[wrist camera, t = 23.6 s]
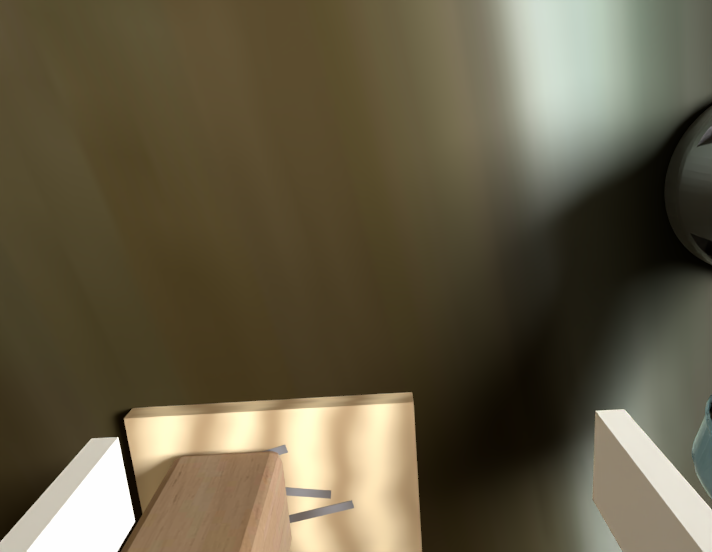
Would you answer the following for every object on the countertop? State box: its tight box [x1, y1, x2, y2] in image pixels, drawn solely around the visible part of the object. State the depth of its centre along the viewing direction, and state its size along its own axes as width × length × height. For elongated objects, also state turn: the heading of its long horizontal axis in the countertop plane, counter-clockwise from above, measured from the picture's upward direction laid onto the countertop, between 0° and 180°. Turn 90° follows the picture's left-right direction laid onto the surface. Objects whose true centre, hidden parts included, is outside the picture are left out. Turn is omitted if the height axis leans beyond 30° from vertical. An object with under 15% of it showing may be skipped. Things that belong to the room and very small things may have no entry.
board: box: [124, 392, 422, 552], centre depth 55 cm, size 26×16×2 cm, turn 94°
